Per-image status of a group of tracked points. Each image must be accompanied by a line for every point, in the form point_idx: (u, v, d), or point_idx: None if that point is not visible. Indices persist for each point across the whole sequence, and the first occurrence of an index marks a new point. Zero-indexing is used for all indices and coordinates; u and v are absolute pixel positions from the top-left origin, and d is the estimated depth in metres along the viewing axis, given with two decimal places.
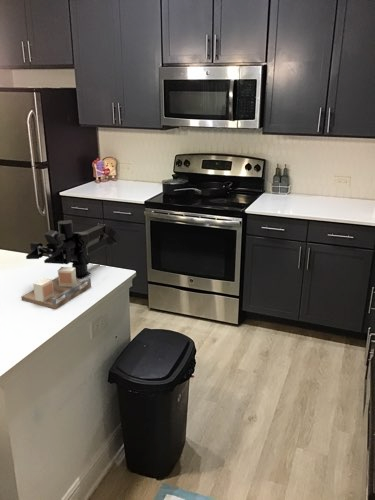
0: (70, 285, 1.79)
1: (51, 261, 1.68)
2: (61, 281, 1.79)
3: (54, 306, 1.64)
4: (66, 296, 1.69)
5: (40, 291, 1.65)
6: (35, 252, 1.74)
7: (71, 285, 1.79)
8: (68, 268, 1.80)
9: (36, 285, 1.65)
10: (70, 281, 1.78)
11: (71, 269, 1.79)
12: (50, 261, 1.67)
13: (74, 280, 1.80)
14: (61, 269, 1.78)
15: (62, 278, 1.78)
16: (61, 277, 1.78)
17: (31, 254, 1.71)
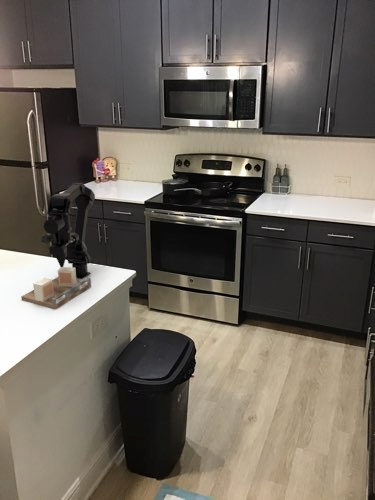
0: (70, 285, 1.79)
1: (62, 261, 1.72)
2: (61, 281, 1.79)
3: (54, 306, 1.64)
4: (66, 296, 1.69)
5: (40, 291, 1.65)
6: (68, 246, 1.81)
7: (71, 285, 1.79)
8: (68, 268, 1.80)
9: (36, 285, 1.65)
10: (70, 281, 1.78)
11: (71, 269, 1.79)
12: (62, 262, 1.72)
13: (74, 280, 1.80)
14: (61, 269, 1.78)
15: (62, 278, 1.78)
16: (61, 277, 1.78)
17: (68, 252, 1.81)
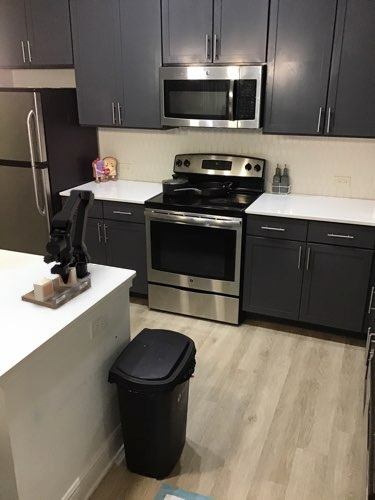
0: (70, 285, 1.79)
1: (66, 279, 1.77)
2: (61, 281, 1.79)
3: (54, 306, 1.64)
4: (66, 296, 1.69)
5: (40, 291, 1.65)
6: None
7: (71, 285, 1.79)
8: None
9: (36, 285, 1.65)
10: (70, 281, 1.78)
11: (71, 269, 1.79)
12: (65, 280, 1.77)
13: (74, 280, 1.80)
14: None
15: None
16: None
17: None
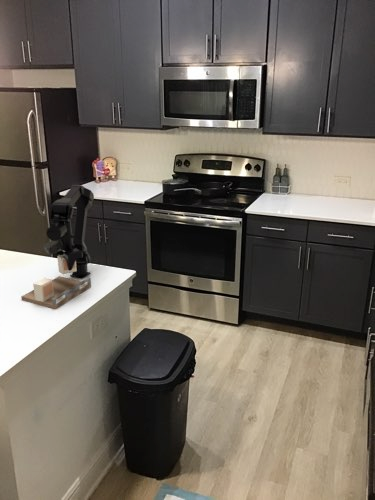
0: (73, 270, 1.79)
1: (72, 264, 1.76)
2: (65, 269, 1.76)
3: (54, 306, 1.64)
4: (66, 296, 1.69)
5: (40, 291, 1.65)
6: None
7: (74, 270, 1.79)
8: None
9: (36, 285, 1.65)
10: (74, 266, 1.78)
11: None
12: (71, 265, 1.76)
13: None
14: (62, 257, 1.75)
15: (66, 265, 1.76)
16: (65, 264, 1.75)
17: None
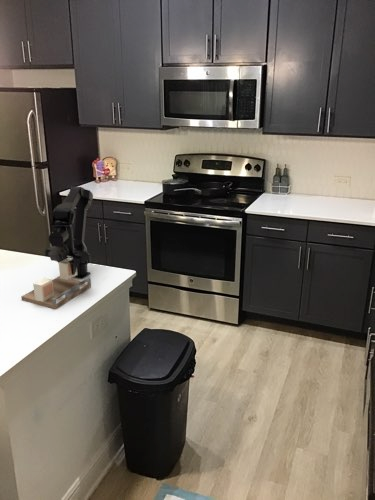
0: (75, 274, 1.80)
1: (75, 268, 1.78)
2: (69, 274, 1.76)
3: (54, 306, 1.64)
4: (66, 296, 1.69)
5: (40, 291, 1.65)
6: None
7: (76, 274, 1.81)
8: (67, 260, 1.78)
9: (36, 285, 1.65)
10: (76, 270, 1.80)
11: (71, 259, 1.79)
12: (75, 269, 1.78)
13: None
14: (65, 262, 1.75)
15: (70, 269, 1.77)
16: (70, 269, 1.76)
17: None
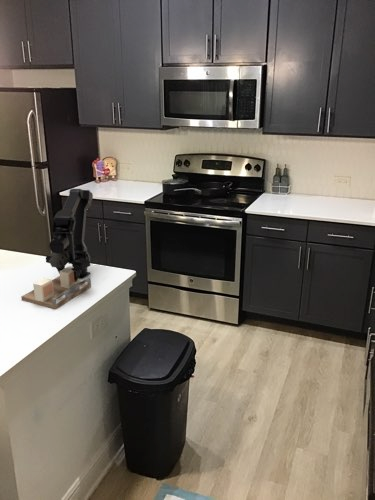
0: (76, 282, 1.82)
1: (78, 275, 1.78)
2: (70, 282, 1.78)
3: (54, 306, 1.64)
4: (66, 296, 1.69)
5: (40, 291, 1.65)
6: (60, 266, 1.80)
7: (76, 282, 1.82)
8: (67, 268, 1.79)
9: (36, 285, 1.65)
10: None
11: (71, 267, 1.80)
12: (78, 276, 1.78)
13: None
14: (66, 271, 1.77)
15: (71, 278, 1.78)
16: (70, 278, 1.77)
17: None
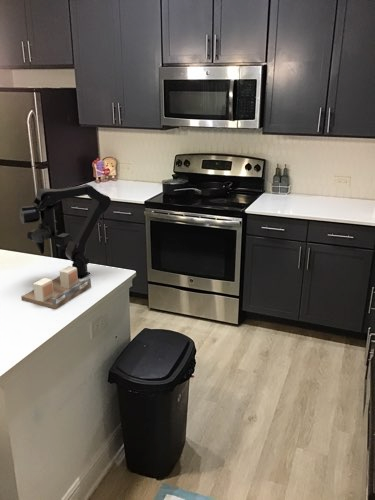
0: (76, 282, 1.82)
1: (62, 251, 1.81)
2: (70, 282, 1.78)
3: (54, 306, 1.64)
4: (66, 296, 1.69)
5: (40, 291, 1.65)
6: None
7: (76, 282, 1.82)
8: (67, 268, 1.79)
9: (36, 285, 1.65)
10: (76, 278, 1.81)
11: (71, 267, 1.80)
12: (62, 252, 1.81)
13: None
14: (66, 271, 1.77)
15: (71, 278, 1.78)
16: (70, 278, 1.77)
17: (41, 248, 1.84)
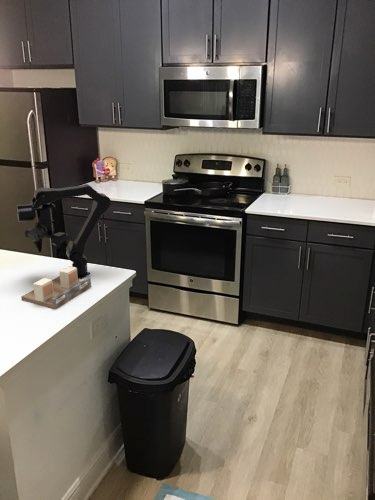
0: (76, 282, 1.82)
1: (59, 249, 1.82)
2: (70, 282, 1.78)
3: (54, 306, 1.64)
4: (66, 296, 1.69)
5: (40, 291, 1.65)
6: (37, 240, 1.85)
7: (76, 282, 1.82)
8: (67, 268, 1.79)
9: (36, 285, 1.65)
10: (76, 278, 1.81)
11: (71, 267, 1.80)
12: (58, 250, 1.83)
13: None
14: (66, 271, 1.77)
15: (71, 278, 1.78)
16: (70, 278, 1.77)
17: (38, 246, 1.86)
